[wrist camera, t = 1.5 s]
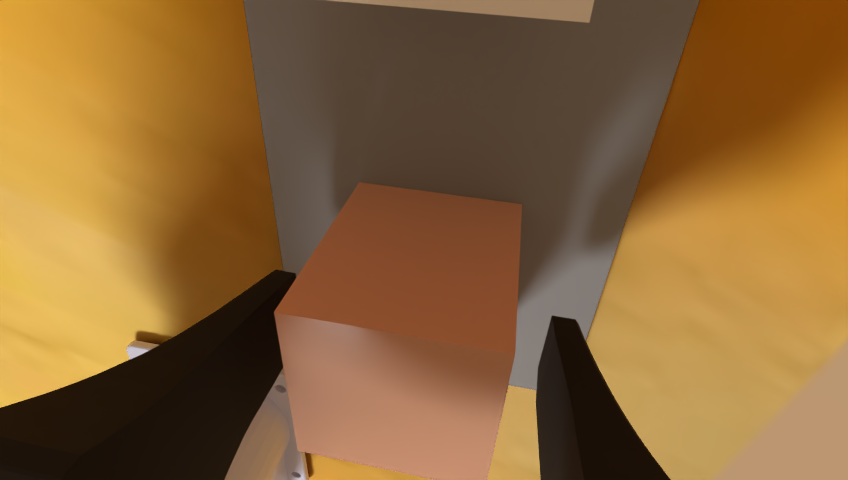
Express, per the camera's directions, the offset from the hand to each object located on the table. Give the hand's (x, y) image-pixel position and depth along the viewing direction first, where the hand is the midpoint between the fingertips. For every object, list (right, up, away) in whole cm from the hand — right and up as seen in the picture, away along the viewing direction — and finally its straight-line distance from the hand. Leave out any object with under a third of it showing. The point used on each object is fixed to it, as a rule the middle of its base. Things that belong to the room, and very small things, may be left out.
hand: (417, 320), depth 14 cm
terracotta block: (0, +2, +3) cm, 3 cm away
